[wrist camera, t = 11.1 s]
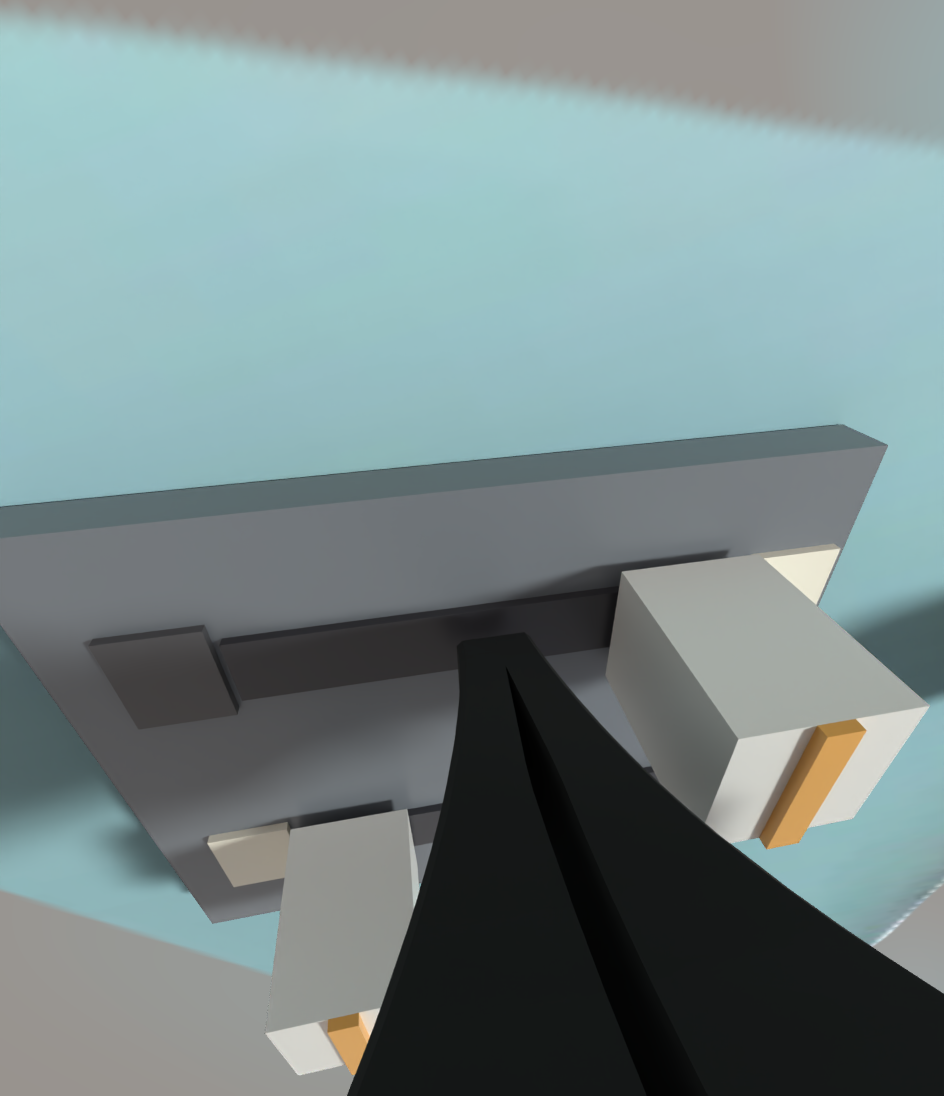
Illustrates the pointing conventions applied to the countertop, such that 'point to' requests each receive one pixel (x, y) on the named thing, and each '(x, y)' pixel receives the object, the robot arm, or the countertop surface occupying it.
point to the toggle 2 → (753, 698)
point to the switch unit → (371, 620)
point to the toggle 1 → (339, 936)
